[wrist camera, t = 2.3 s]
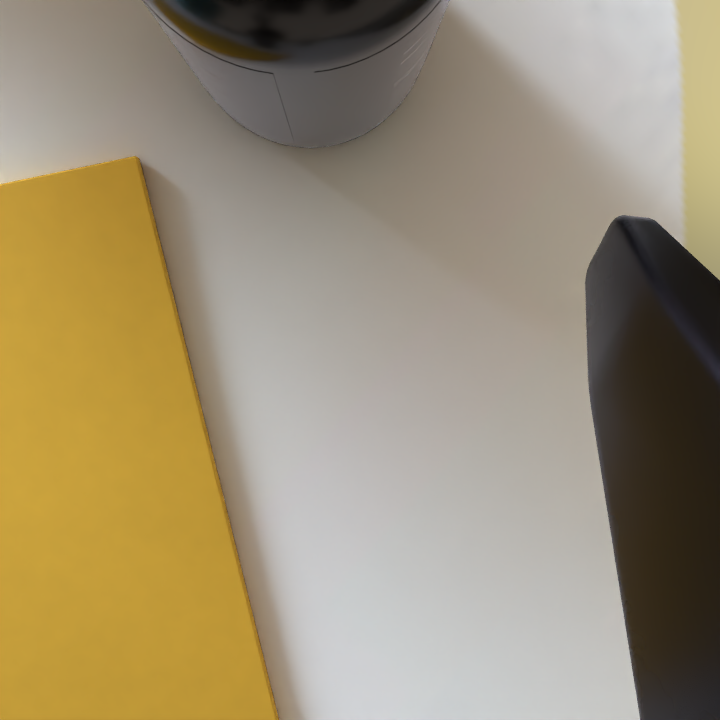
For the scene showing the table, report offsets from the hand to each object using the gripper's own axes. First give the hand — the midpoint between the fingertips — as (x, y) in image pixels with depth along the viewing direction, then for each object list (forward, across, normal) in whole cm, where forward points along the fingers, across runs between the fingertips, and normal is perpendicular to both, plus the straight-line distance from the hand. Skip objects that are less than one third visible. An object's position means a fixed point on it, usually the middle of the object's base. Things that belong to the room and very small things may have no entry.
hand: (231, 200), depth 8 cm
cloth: (+2, +9, +15) cm, 18 cm away
